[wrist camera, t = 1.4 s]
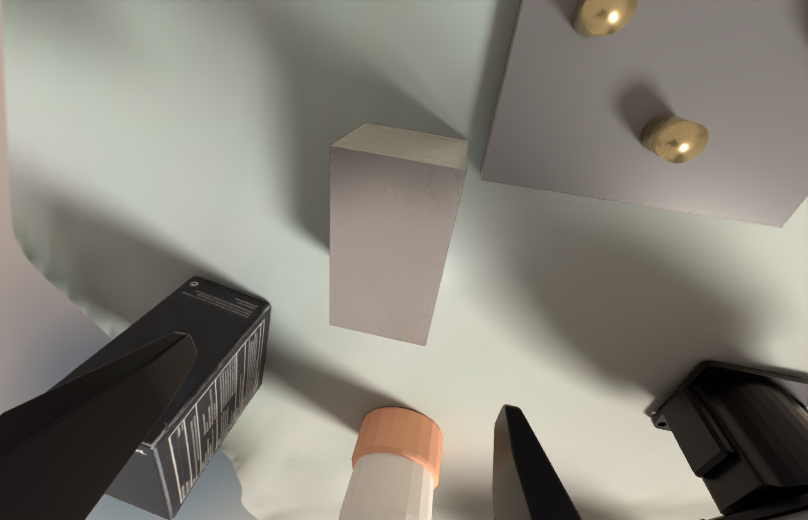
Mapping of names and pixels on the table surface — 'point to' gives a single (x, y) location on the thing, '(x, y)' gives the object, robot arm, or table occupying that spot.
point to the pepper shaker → (394, 467)
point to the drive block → (391, 227)
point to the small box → (190, 389)
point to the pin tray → (658, 105)
